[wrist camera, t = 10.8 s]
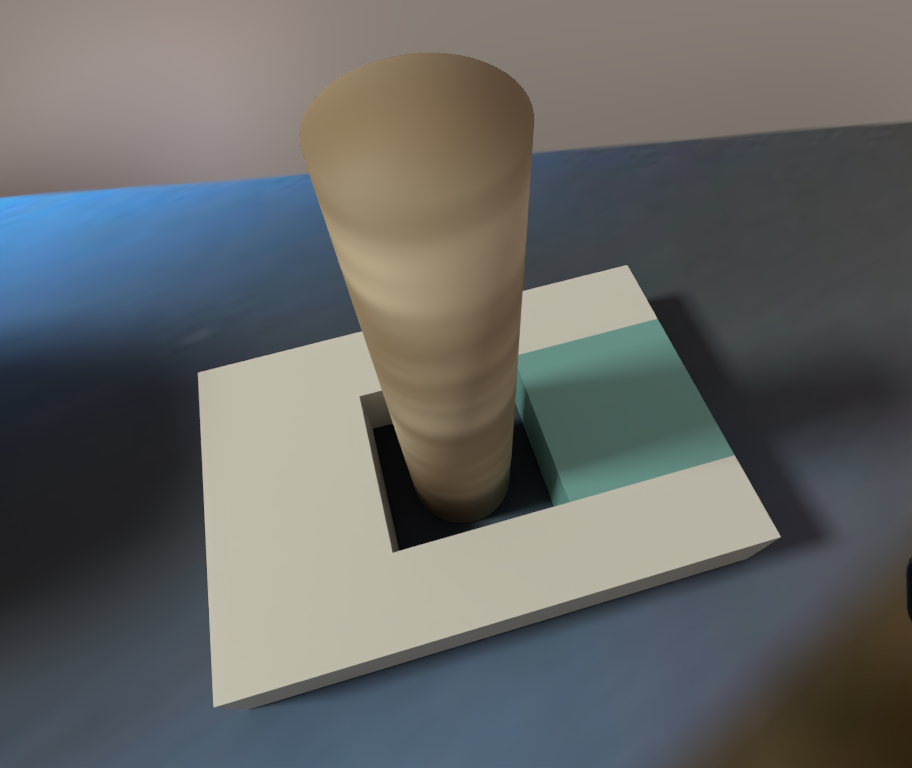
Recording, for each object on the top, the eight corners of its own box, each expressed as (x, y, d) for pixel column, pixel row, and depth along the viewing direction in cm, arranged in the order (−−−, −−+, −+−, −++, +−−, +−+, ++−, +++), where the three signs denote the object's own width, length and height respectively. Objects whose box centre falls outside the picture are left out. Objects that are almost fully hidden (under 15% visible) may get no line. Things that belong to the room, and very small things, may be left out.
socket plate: (614, 306, 24) (627, 265, 22) (747, 558, 18) (781, 537, 16) (226, 406, 22) (197, 372, 20) (248, 709, 17) (213, 707, 15)
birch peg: (530, 483, 20) (584, 126, 8) (452, 543, 19) (383, 243, 7) (469, 415, 22) (440, 28, 10) (395, 468, 21) (258, 114, 9)
